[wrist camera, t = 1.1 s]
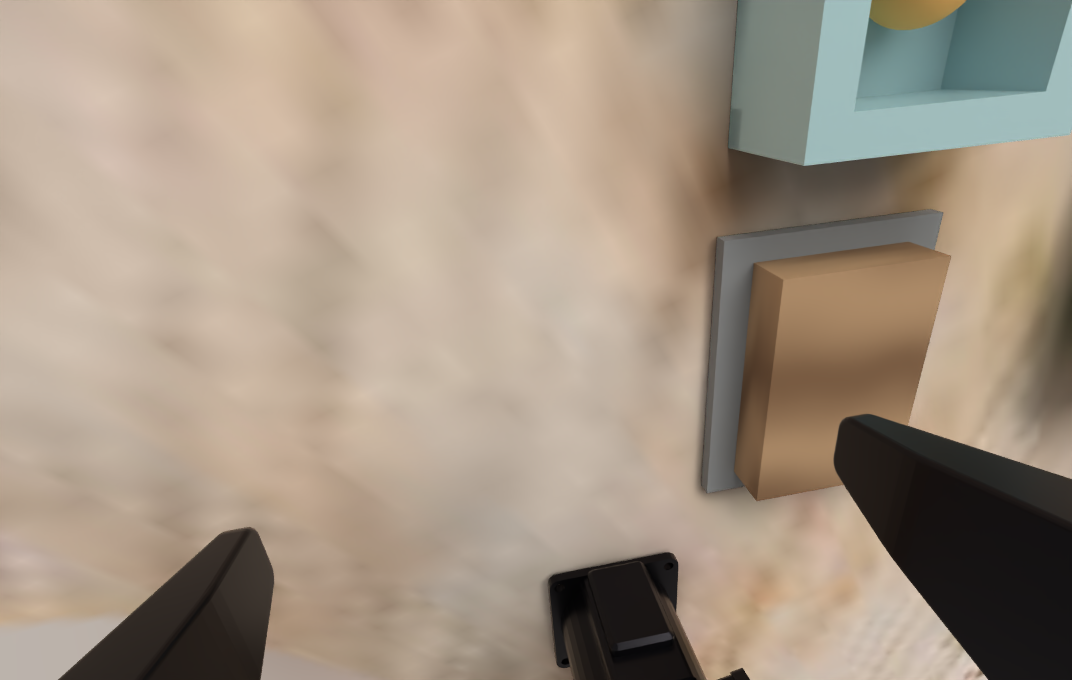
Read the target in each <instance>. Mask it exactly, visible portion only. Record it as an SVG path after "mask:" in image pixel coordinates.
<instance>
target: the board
mask: <svg viewBox="0 0 1072 680" xmlns="http://www.w3.org/2000/svg"><path fill="white" fill-rule="evenodd" d="M950 259H951V256H950V255H947V254H944V253H941V252H938V251H935V250H932V249H929V248H926V247H923V246H920V245H917V244H914V243H912V242H902V243H895V244H887V245H880V246H873V247H865V248H858V249H851V250H843V251H836V252H829V253H821V254H814V255H807V256H800V257H792V258H785V259H778V260H770V261H763V262H756V263H754V266H753V276H752V287H751V297H750V308H749V318H748V329H747V339H746V350H745V360H744V371H743V381H742V392H741V402H740V413H739V423H738V434H737V444H736V455H735V465H734V472H735V474H736V475H737V476H738V477H739V479H740V480H741V481H742V483H743V484H744V485H745V487H746V488H747V489H748V491H749V492H750V493H751V494H752V496H753V497H754V498H755V500H756V501H760V500H765V499H771V498H776V497H781V496H786V495H792V494H797V493H802V492H807V491H813V490H818V489H823V488H828V487H834V486H839V485H844V484H843V483H842V481H841V480H840V478H839V477H838V475H837V473H836V471H835V468H834V462H833V457H834V451H835V445H836V440H837V434H838V428H839V424H840V422H841V421H842V420H843V419H844V418H846V417H849V416H855V415H860V414H873V415H876V416H879V417H882V418H885V419H888V420H891V421H894V422H897V423H901V424H904V425H907V426H908V423H909V419H910V415H911V411H912V407H913V403H914V399H915V395H916V391H917V388H918V384H919V380H920V376H921V372H922V368H923V364H924V360H925V356H926V352H927V348H928V345H929V341H930V337H931V333H932V329H933V325H934V321H935V317H936V313H937V309H938V305H939V302H940V298H941V294H942V290H943V286H944V282H945V278H946V274H947V270H948V266H949V263H950Z"/></svg>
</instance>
